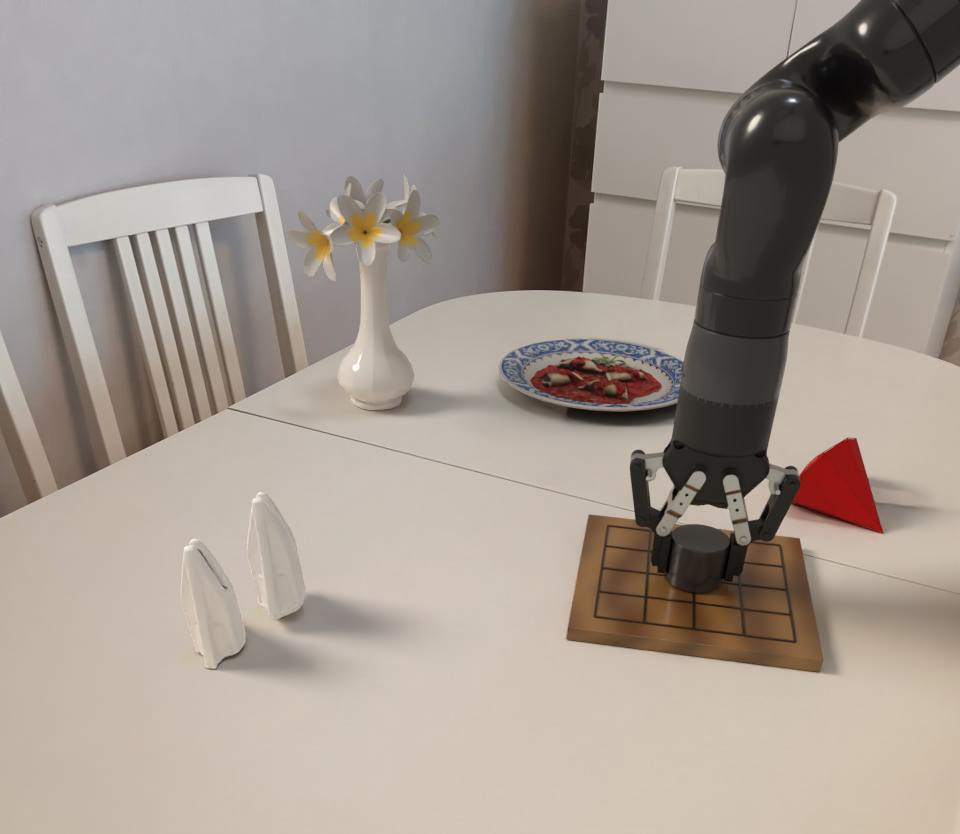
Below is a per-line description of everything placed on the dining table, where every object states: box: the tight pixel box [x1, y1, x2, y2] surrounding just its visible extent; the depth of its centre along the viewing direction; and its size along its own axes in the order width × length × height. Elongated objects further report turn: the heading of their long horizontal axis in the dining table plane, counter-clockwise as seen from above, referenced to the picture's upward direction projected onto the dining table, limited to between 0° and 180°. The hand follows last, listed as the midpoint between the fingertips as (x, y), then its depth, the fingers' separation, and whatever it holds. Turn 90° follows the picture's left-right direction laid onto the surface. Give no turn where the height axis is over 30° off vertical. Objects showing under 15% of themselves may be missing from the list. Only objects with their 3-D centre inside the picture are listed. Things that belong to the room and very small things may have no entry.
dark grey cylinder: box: [665, 523, 731, 593], centre depth 83 cm, size 5×5×4 cm
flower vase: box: [285, 173, 441, 411], centre depth 111 cm, size 13×18×25 cm
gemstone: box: [792, 437, 885, 534], centre depth 97 cm, size 9×9×10 cm
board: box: [566, 513, 824, 673], centre depth 85 cm, size 20×20×1 cm
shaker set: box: [179, 491, 307, 670], centre depth 75 cm, size 12×4×11 cm, turn 143°
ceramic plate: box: [498, 338, 684, 412], centre depth 125 cm, size 26×26×3 cm
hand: (694, 572), depth 84 cm, fingers closed on dark grey cylinder, 5 cm apart
